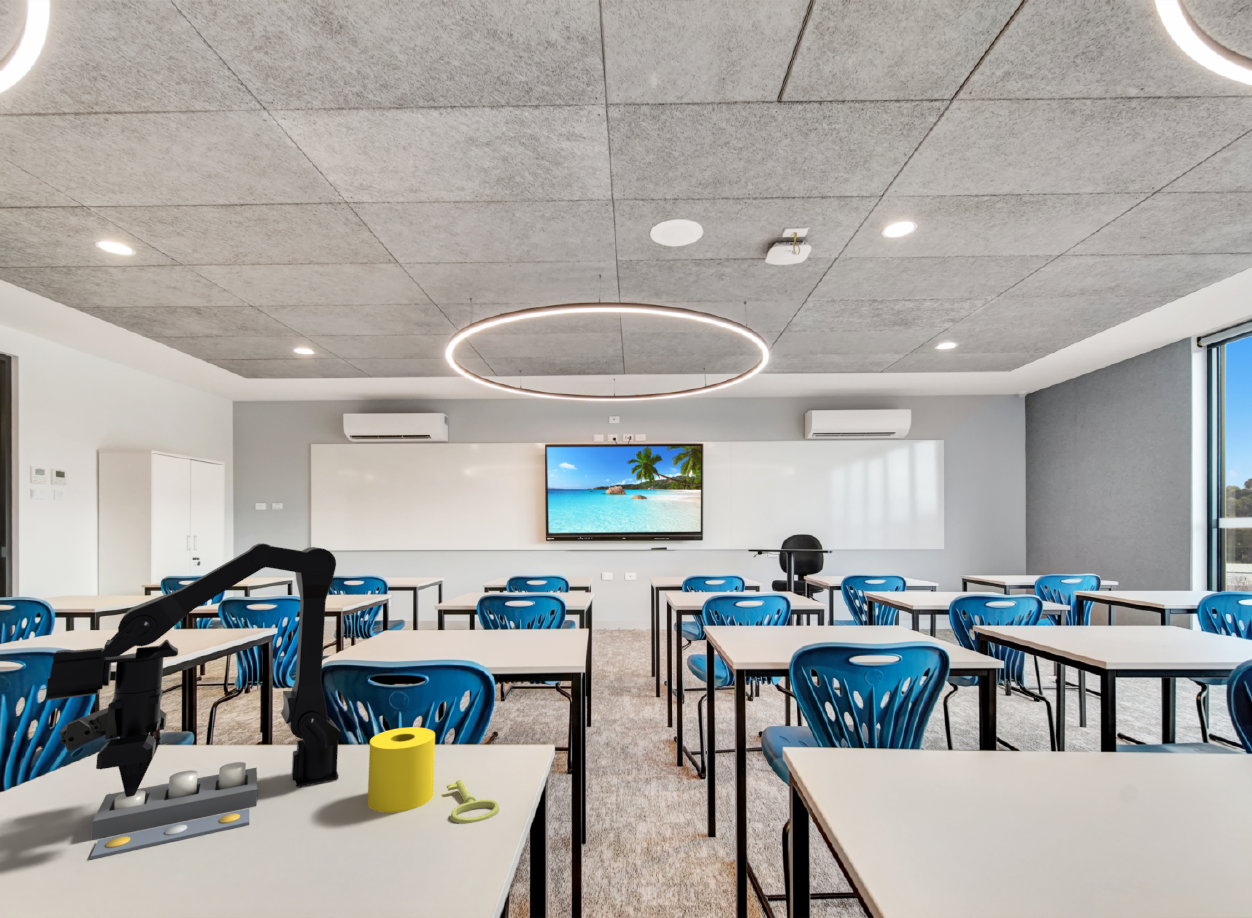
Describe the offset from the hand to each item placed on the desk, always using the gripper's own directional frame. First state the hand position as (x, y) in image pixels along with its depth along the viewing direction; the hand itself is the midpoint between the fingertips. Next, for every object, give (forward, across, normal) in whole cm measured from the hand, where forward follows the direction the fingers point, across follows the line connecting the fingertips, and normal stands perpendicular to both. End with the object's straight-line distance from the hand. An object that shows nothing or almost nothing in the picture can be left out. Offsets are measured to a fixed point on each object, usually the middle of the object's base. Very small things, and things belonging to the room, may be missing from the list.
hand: (130, 795), depth 94 cm
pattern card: (+3, +9, +6) cm, 12 cm away
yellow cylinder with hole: (+4, +14, +36) cm, 39 cm away
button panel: (+3, 0, +6) cm, 7 cm away
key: (+4, +22, +45) cm, 50 cm away
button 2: (+1, 0, +13) cm, 13 cm away
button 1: (+3, 0, 0) cm, 3 cm away
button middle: (+1, 0, +7) cm, 7 cm away
